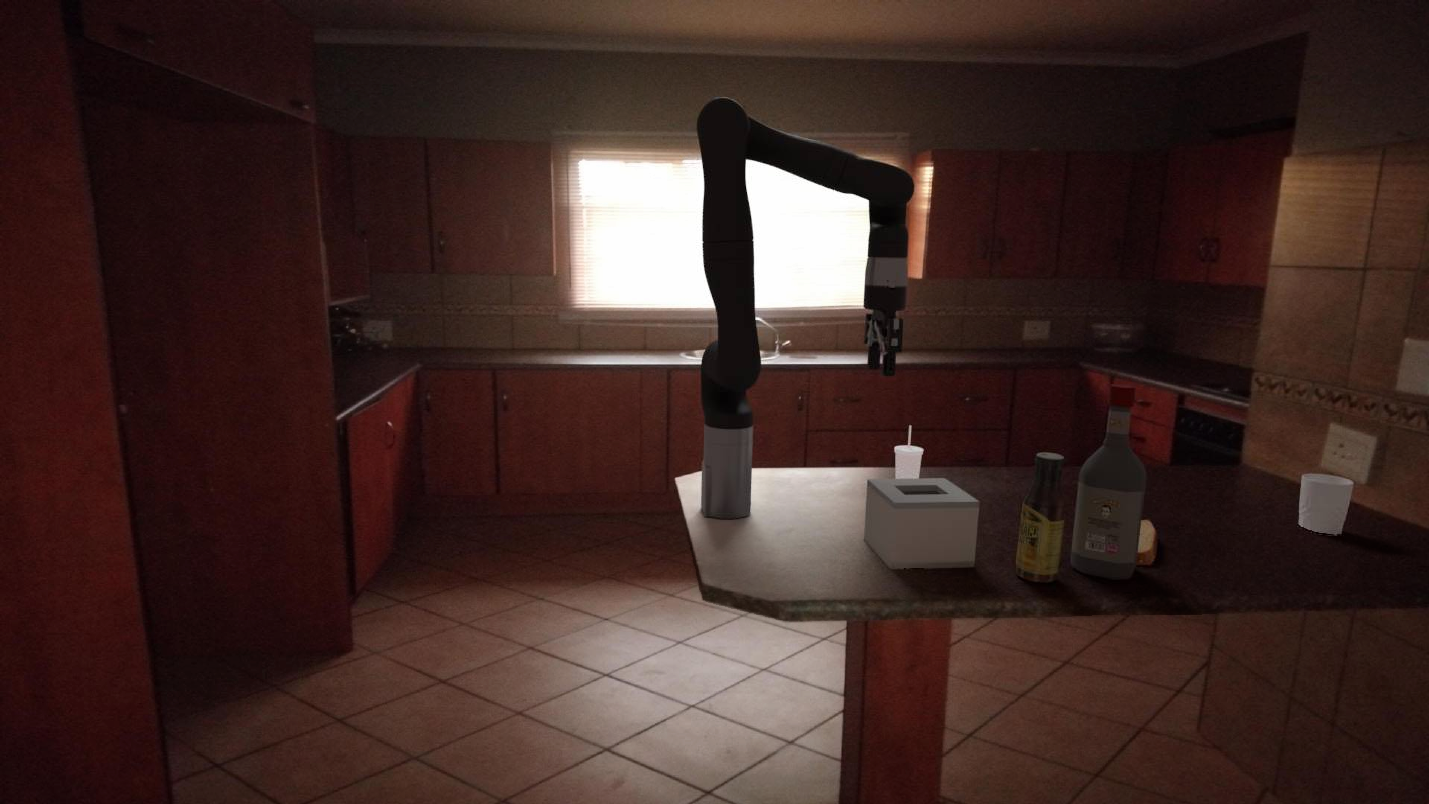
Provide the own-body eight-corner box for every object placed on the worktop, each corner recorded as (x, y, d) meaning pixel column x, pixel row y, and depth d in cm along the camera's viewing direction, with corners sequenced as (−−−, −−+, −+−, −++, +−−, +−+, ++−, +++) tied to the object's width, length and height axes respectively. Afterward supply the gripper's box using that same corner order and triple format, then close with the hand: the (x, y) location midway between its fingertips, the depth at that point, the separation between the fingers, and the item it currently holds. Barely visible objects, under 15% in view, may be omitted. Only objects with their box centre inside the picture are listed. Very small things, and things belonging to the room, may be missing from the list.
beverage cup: (923, 493, 176) (928, 428, 174) (894, 493, 176) (898, 428, 174) (917, 485, 182) (921, 422, 180) (889, 485, 182) (893, 422, 180)
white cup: (1339, 527, 160) (1347, 476, 158) (1350, 539, 153) (1359, 486, 151) (1290, 521, 163) (1298, 471, 161) (1298, 532, 156) (1306, 481, 154)
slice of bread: (1135, 570, 136) (1138, 548, 135) (1050, 536, 152) (1052, 516, 151) (1209, 556, 143) (1211, 535, 142) (1120, 525, 159) (1122, 506, 159)
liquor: (1130, 583, 129) (1152, 392, 124) (1067, 571, 134) (1086, 386, 129) (1136, 566, 137) (1157, 385, 131) (1077, 554, 141) (1095, 379, 136)
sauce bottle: (1008, 570, 134) (1018, 449, 130) (1045, 569, 134) (1057, 449, 131) (1026, 586, 127) (1038, 459, 124) (1065, 585, 128) (1078, 459, 124)
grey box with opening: (890, 569, 133) (894, 502, 131) (864, 539, 146) (867, 479, 144) (974, 567, 134) (979, 501, 133) (940, 538, 148) (944, 478, 146)
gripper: (854, 281, 156) (849, 367, 159) (878, 284, 143) (872, 378, 145) (892, 282, 157) (887, 367, 160) (920, 285, 144) (914, 378, 146)
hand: (880, 372), depth 153 cm, fingers open, 8 cm apart
